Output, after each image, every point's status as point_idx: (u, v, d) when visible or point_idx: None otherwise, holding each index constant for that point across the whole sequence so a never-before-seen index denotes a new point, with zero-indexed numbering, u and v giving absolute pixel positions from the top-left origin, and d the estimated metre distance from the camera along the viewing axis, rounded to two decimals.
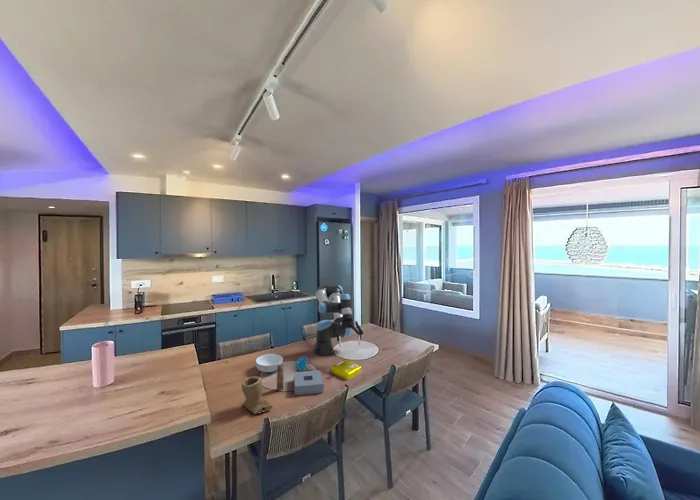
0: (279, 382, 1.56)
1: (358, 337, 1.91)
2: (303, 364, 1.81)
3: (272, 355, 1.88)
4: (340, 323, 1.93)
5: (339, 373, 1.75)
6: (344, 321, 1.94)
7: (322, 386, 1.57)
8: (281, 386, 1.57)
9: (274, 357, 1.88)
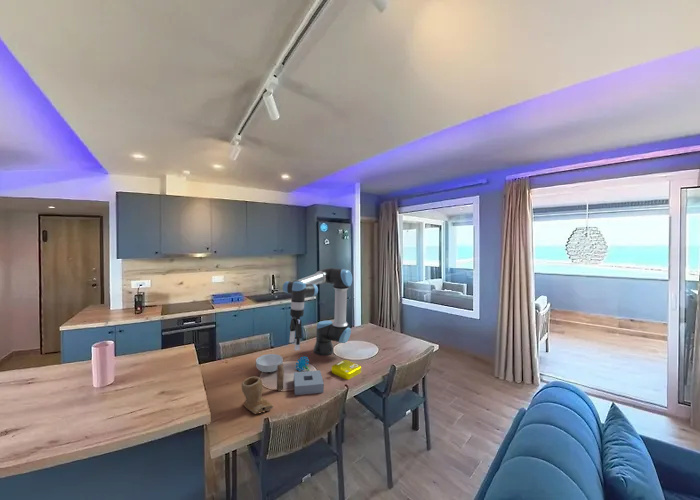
0: (279, 382, 1.56)
1: None
2: (303, 364, 1.81)
3: (272, 355, 1.88)
4: (293, 317, 1.63)
5: (339, 373, 1.76)
6: None
7: (322, 386, 1.57)
8: (281, 386, 1.57)
9: (274, 357, 1.88)
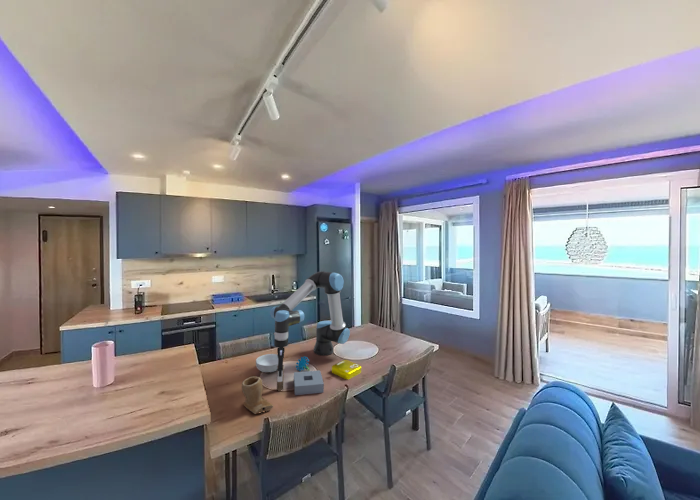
0: (279, 382, 1.56)
1: None
2: (303, 364, 1.82)
3: (272, 355, 1.88)
4: None
5: (339, 373, 1.76)
6: None
7: (322, 386, 1.57)
8: (281, 386, 1.57)
9: (274, 357, 1.88)
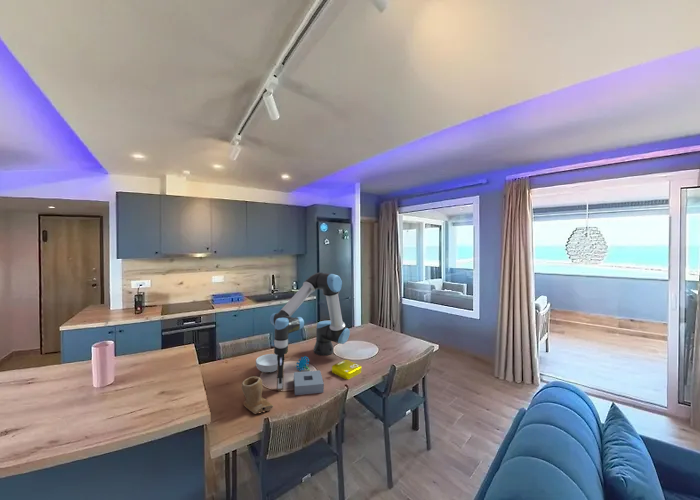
0: None
1: None
2: (304, 364, 1.82)
3: (272, 355, 1.88)
4: None
5: (339, 373, 1.76)
6: None
7: (322, 386, 1.57)
8: None
9: (274, 357, 1.88)
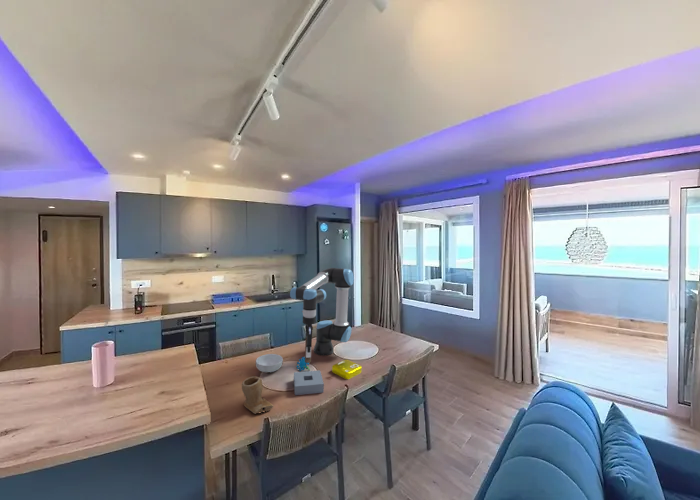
0: None
1: None
2: (304, 364, 1.82)
3: (272, 355, 1.88)
4: (307, 325, 1.66)
5: (339, 373, 1.76)
6: None
7: (322, 386, 1.57)
8: (309, 358, 1.61)
9: (274, 357, 1.88)
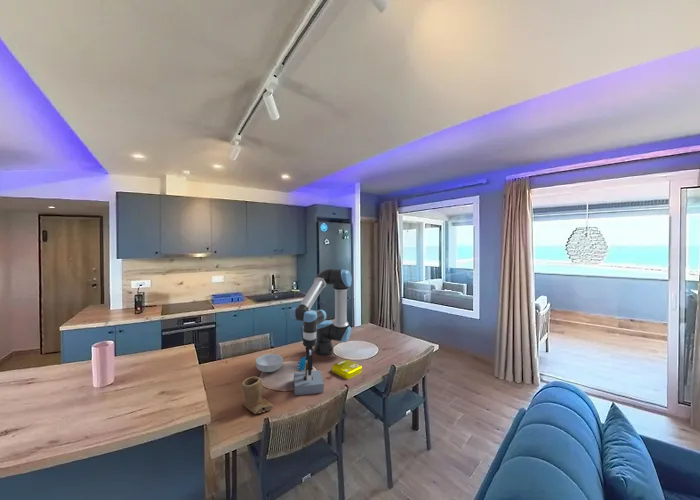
0: None
1: None
2: (304, 364, 1.82)
3: (272, 355, 1.88)
4: None
5: (339, 372, 1.76)
6: None
7: (322, 386, 1.57)
8: None
9: (274, 357, 1.88)
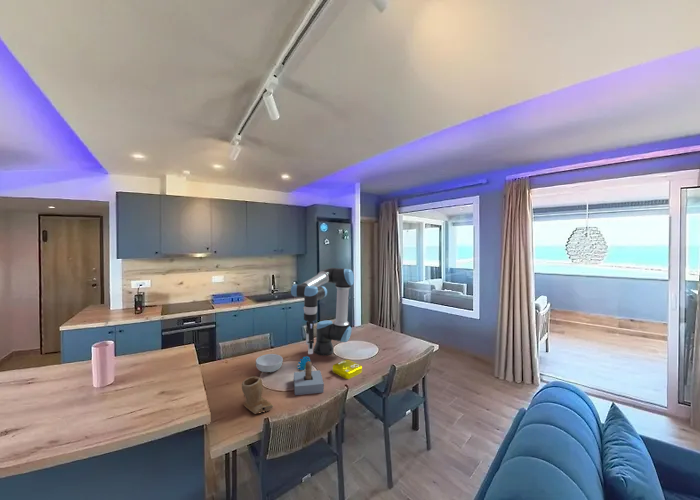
0: (307, 379, 1.61)
1: None
2: (304, 364, 1.82)
3: (272, 355, 1.88)
4: None
5: (340, 372, 1.76)
6: None
7: (322, 386, 1.57)
8: None
9: (274, 357, 1.88)
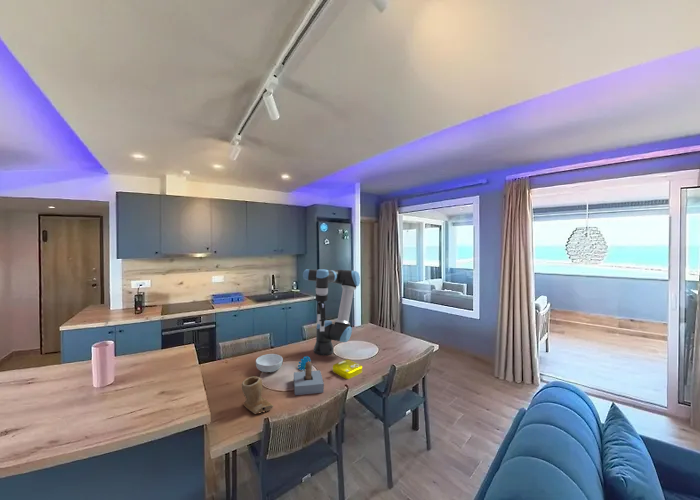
0: (307, 379, 1.61)
1: None
2: (305, 364, 1.82)
3: (272, 355, 1.88)
4: (319, 301, 1.79)
5: (340, 372, 1.77)
6: (319, 300, 1.76)
7: (322, 386, 1.57)
8: None
9: (274, 357, 1.88)
